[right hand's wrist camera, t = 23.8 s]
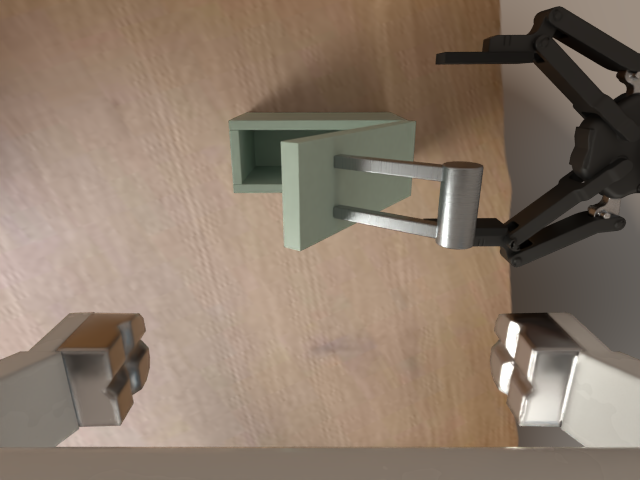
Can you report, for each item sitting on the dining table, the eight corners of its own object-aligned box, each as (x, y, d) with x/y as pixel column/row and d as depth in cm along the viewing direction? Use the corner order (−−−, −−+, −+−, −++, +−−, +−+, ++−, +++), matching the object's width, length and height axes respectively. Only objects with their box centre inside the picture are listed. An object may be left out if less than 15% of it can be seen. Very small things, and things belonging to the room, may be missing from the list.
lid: (283, 247, 24) (446, 289, 19) (280, 141, 22) (460, 158, 17) (397, 193, 35) (518, 211, 30) (402, 120, 33) (532, 126, 28)
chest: (249, 171, 43) (233, 193, 35) (246, 112, 41) (228, 120, 33) (387, 171, 43) (402, 192, 35) (390, 112, 41) (407, 119, 33)
